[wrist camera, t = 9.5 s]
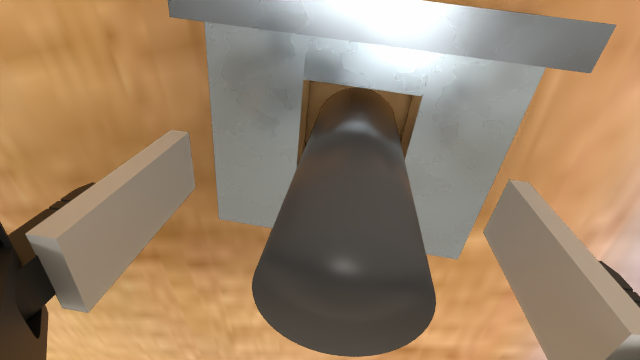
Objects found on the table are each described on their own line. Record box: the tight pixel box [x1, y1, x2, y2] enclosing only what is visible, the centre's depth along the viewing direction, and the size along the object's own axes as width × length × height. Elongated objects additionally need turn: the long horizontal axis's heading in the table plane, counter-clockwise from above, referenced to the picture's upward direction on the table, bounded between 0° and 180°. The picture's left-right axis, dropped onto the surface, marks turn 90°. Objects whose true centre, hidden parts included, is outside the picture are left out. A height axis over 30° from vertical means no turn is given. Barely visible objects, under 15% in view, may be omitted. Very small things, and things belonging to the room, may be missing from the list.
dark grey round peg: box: [252, 88, 436, 357], centre depth 14 cm, size 5×5×13 cm
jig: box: [168, 0, 616, 259], centre depth 17 cm, size 16×14×6 cm
